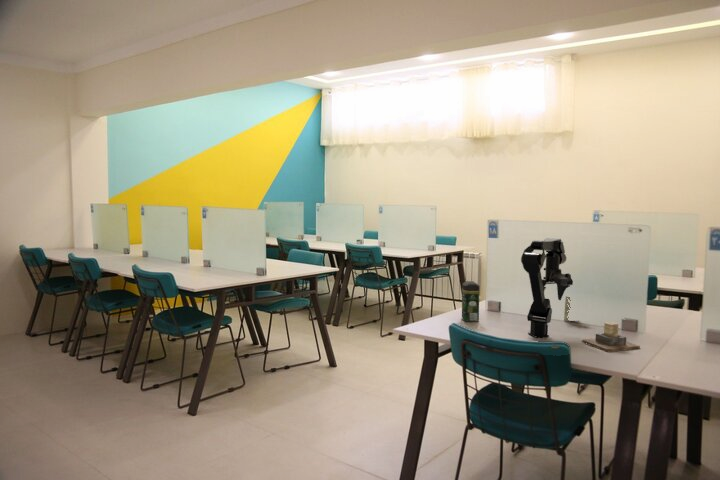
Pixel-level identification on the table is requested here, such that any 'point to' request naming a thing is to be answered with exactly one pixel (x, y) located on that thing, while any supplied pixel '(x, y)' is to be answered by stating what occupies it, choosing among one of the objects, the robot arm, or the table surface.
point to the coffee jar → (470, 301)
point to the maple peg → (610, 329)
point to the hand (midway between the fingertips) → (551, 300)
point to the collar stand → (611, 343)
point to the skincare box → (566, 308)
